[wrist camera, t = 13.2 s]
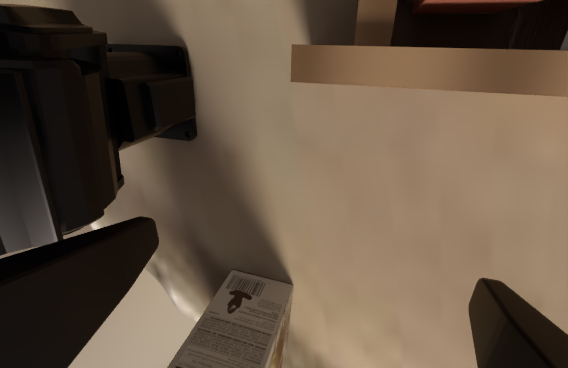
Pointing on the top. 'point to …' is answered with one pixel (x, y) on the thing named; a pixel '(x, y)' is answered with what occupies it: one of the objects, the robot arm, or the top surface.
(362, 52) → the wooden display stand
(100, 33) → the robot arm
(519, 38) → the bookend
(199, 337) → the coffee box
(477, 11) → the block
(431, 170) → the top surface
